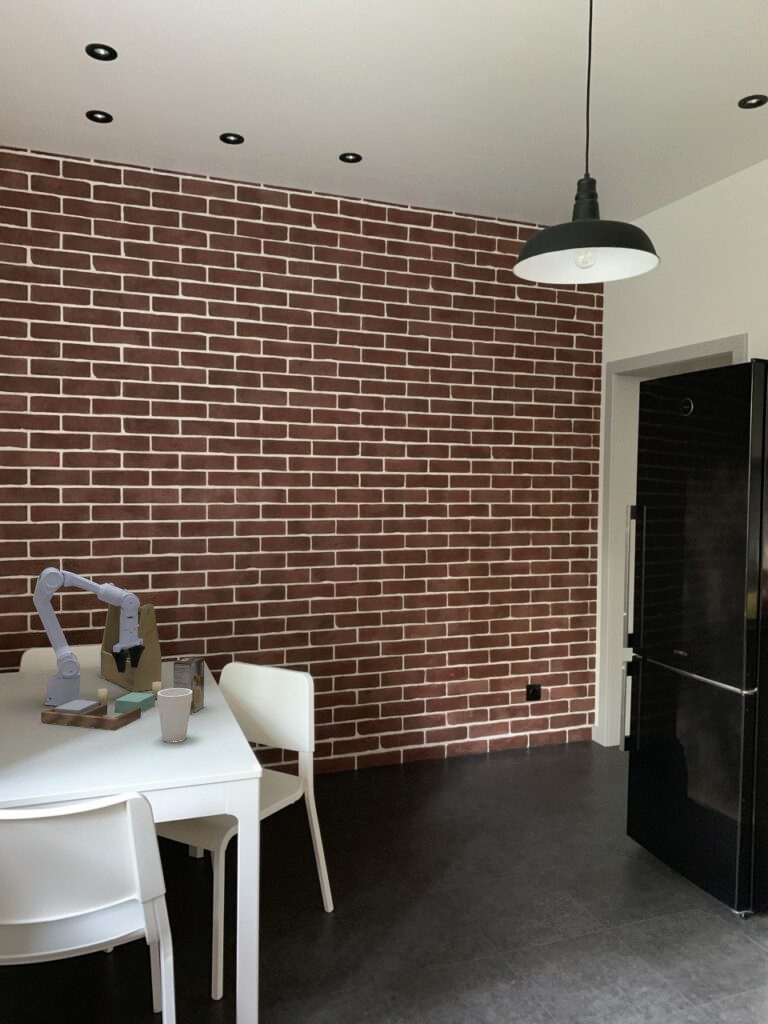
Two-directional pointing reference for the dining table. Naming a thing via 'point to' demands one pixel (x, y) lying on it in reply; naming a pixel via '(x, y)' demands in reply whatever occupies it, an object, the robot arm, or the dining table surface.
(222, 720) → the dining table surface
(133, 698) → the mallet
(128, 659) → the caddy
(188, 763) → the dining table surface
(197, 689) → the coffee box
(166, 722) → the foam cup
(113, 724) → the tray
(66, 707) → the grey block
